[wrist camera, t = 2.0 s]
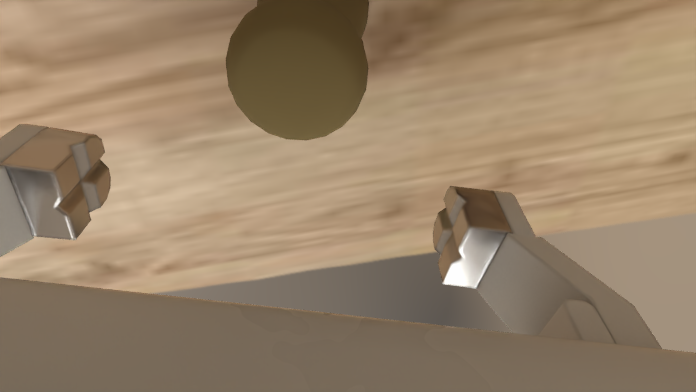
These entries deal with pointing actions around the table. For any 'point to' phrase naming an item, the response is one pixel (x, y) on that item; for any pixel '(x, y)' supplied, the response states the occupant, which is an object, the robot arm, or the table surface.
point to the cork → (299, 65)
